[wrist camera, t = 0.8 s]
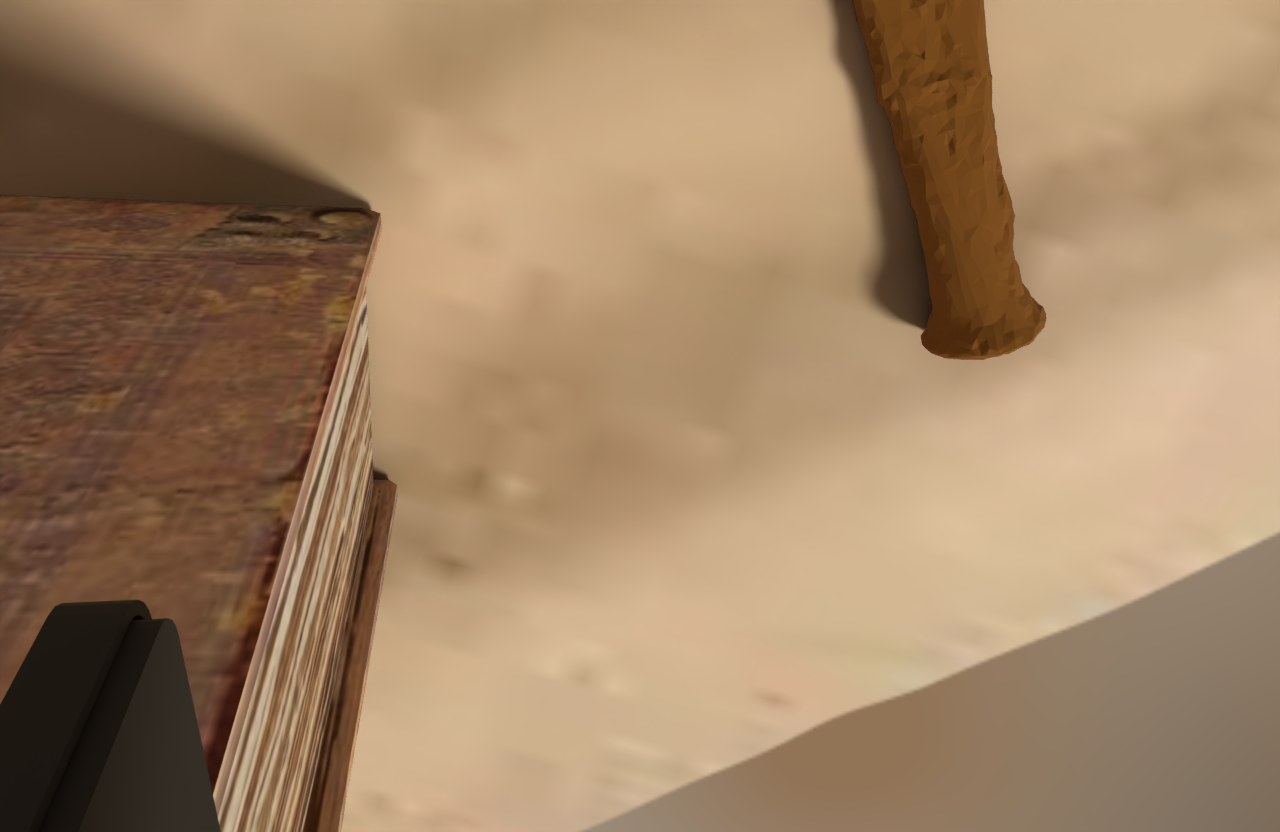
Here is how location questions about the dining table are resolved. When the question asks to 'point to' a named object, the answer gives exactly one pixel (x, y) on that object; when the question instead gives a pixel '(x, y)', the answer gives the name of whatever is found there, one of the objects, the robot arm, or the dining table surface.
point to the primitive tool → (952, 171)
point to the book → (202, 467)
